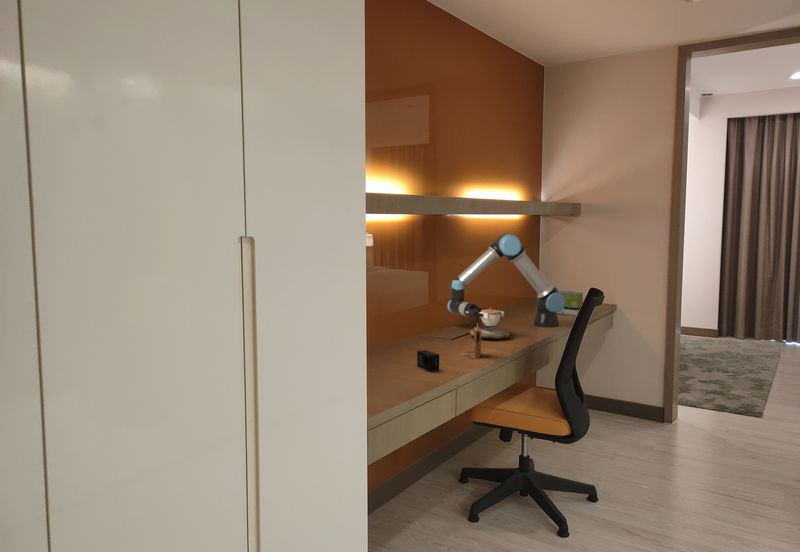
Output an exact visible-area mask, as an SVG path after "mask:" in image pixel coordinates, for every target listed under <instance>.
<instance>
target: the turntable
mask: <svg viewBox="0 0 800 552" xmlns="http://www.w3.org/2000/svg"><path fill="white" fill-rule="evenodd" d="M479 328H480V329H481V337H482V338H481V339H484V338H498V339H504V338H509V337H510V336H511V334H512V331H510V330H509V329H506V328H501V327H500V328H499V327H490V326H487V327H479ZM469 334H470V336H473V337H474V328H471V329H470V330H469Z"/></svg>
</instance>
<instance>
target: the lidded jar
mask: <svg viewBox="0 0 800 552" xmlns="http://www.w3.org/2000/svg"><path fill="white" fill-rule="evenodd" d="M492 309H493V308H492V307H489V308H488V309H486V310H481V312H483V313H488V314H489V319H487V318H482V317H480V319H481V322H482V323H483V324H484V326H487V327H495V326H497V324H499V322H500V320H501V316H500V313H501V311H502V310H499V309H498V310H492Z"/></svg>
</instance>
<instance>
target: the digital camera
mask: <svg viewBox="0 0 800 552" xmlns="http://www.w3.org/2000/svg"><path fill="white" fill-rule="evenodd" d="M416 353H417V354H416V366H417V367H419V368H421V369H424V370H427V371H430V372H433V371H439V370H440V354H439V353H437V352H433V351H430V350H425V349H423V350H417V351H416Z"/></svg>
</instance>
